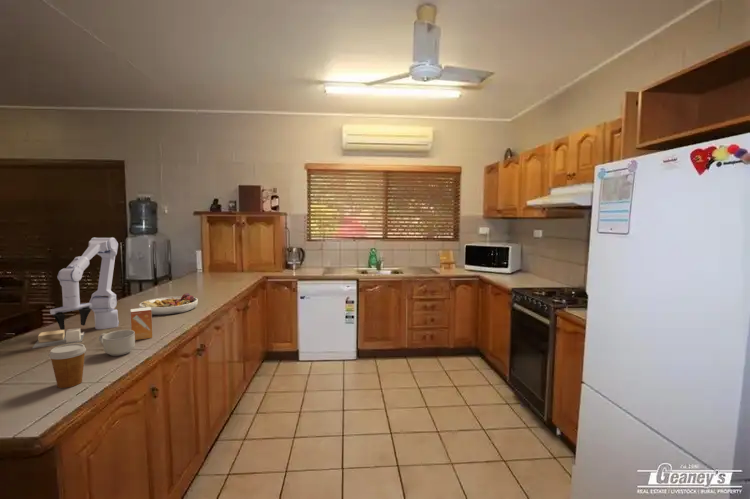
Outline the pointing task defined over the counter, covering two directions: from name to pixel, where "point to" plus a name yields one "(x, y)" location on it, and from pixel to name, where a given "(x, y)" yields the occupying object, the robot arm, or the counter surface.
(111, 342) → the teacup
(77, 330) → the cream cube
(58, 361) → the disposable coffee cup
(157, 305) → the bowl
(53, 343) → the board
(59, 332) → the oak base brick
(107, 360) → the counter surface
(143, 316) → the small box
